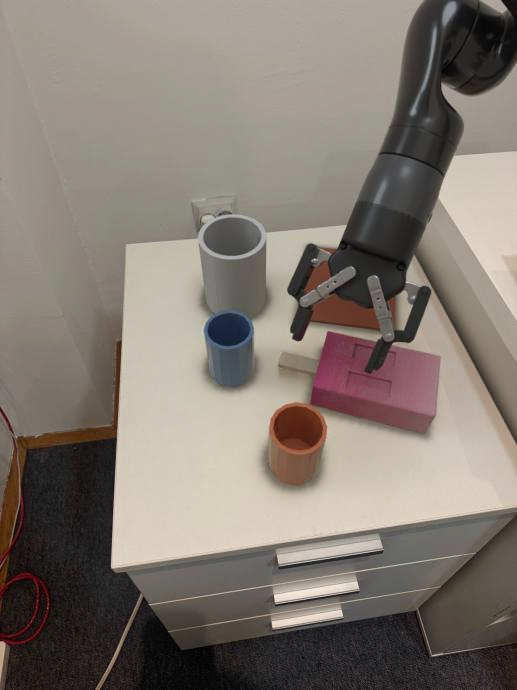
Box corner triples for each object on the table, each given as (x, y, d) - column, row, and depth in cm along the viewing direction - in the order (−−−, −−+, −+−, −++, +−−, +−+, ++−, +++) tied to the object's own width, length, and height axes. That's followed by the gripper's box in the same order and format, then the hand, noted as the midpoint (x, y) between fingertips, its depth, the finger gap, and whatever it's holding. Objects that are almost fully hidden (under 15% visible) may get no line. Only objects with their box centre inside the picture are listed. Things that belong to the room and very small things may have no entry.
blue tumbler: (257, 353, 68) (257, 313, 61) (249, 389, 64) (248, 351, 58) (215, 347, 69) (210, 307, 62) (205, 383, 65) (198, 345, 58)
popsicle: (270, 395, 64) (424, 434, 60) (270, 375, 60) (436, 415, 57) (287, 342, 69) (430, 375, 66) (289, 320, 65) (441, 354, 62)
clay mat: (394, 257, 80) (394, 255, 79) (394, 332, 70) (395, 330, 70) (309, 247, 81) (309, 246, 81) (298, 320, 72) (298, 318, 71)
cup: (193, 301, 74) (184, 240, 64) (231, 268, 78) (227, 206, 69) (241, 329, 71) (238, 269, 61) (277, 292, 75) (279, 231, 65)
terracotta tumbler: (321, 441, 60) (329, 406, 53) (316, 488, 56) (324, 458, 50) (272, 433, 61) (274, 398, 54) (264, 480, 57) (265, 449, 50)
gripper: (320, 181, 48) (262, 332, 51) (462, 227, 44) (390, 388, 47) (335, 198, 55) (284, 329, 58) (459, 239, 51) (397, 378, 54)
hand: (331, 355), depth 53 cm, fingers open, 8 cm apart
